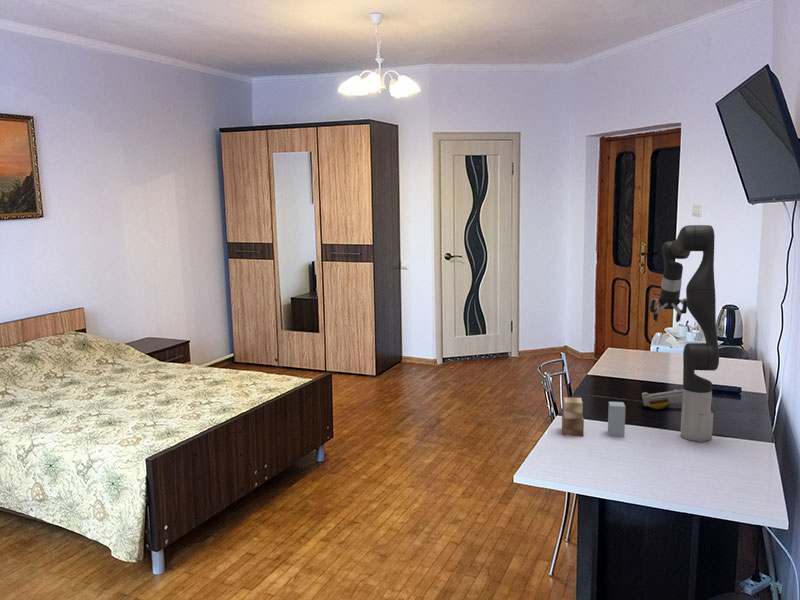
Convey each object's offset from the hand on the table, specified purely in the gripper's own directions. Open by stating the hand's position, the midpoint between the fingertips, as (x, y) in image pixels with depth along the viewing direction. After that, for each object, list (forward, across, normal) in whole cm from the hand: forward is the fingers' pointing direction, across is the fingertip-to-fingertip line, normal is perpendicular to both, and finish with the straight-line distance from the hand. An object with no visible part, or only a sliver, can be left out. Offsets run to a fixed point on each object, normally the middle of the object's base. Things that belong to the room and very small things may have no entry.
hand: (666, 320), depth 279 cm
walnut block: (+11, -40, -65) cm, 77 cm away
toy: (+21, +2, -35) cm, 40 cm away
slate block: (+11, -24, -64) cm, 69 cm away
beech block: (+5, -40, -63) cm, 75 cm away
